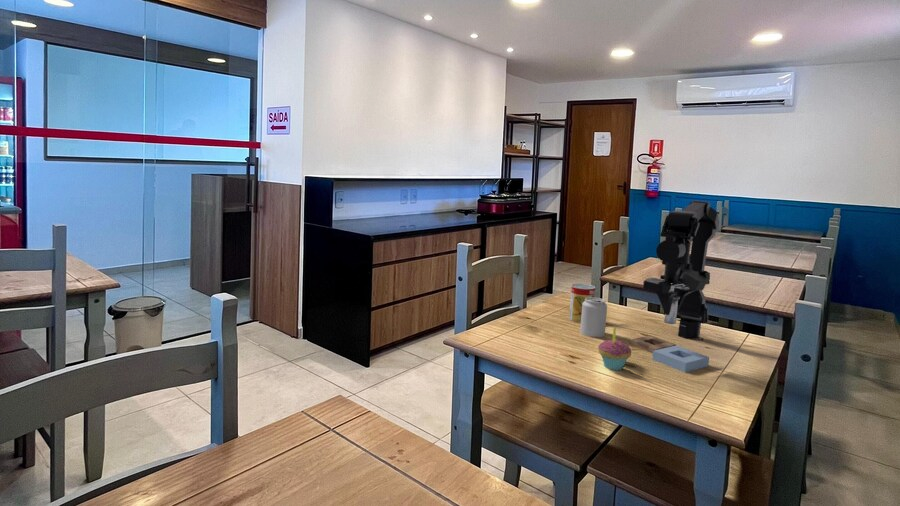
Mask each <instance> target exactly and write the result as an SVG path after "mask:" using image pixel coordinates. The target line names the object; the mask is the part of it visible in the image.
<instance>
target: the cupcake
mask: <svg viewBox="0 0 900 506" xmlns="http://www.w3.org/2000/svg"><path fill="white" fill-rule="evenodd" d="M616 331H617V329H616V325H615V324H613V328H612V339H608V340H607V339H606V340H604V341H602V342H601V343H600V344H598V347H597V351H598V353H599V355H600V356H601V359H602V362H603V366H604V367H605V368H607V369H609V370H613V371H614V370H615V371H621V370H623V368H624V366H625V364H626V362H627V360H628V359H629V358H630V357H631V356H632V350H631V349H632V348H631V347H630V345H628V344H626V343H625V342H623V341H621V340H618V339H616Z"/></svg>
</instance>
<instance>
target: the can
mask: <svg viewBox="0 0 900 506" xmlns="http://www.w3.org/2000/svg"><path fill="white" fill-rule="evenodd" d="M606 302H607V301H606V300H605V299H603V298H600V297H595V296H594V297H589V298H585V301H584V302H583V303H582V314H581V323H580V327H579V328H580V331H579V333H580V334H581V335H583V336H586V337H591V338H602V337H605V334H606V325H607V314H608V304H607V303H606Z"/></svg>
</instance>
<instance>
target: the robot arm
mask: <svg viewBox="0 0 900 506" xmlns="http://www.w3.org/2000/svg"><path fill="white" fill-rule="evenodd" d="M719 225H720V216H719V213H718V211H716V210H715V209H714V208H713V207H711V204H710V202H708V201H705V200H692V201H690V202H689V205H687V206H686V207H684V208H683V209H682V210H672V211H670V212H669V213H668V215H666V216H665V219H664V222H663V225H662V228H661V231H660V237H663V238H665V240H662V241H661V242H659V244H658V245H657V246H656V252H655V253H656V256H657V258H658V259H659V260H660V261H661V264H662V265H664V274H661V275H660V278H657V277H651V278H650V277H649V278H646V279H645V280H643V284H642V289H644V290H648V291H651V292H655V294H656V295H657V297H658V300H659V302H660V305H661V308H662V310H663V313H664V315H665V314H666V315H669V313H670V309H671V304H672V299H673V297H674V296H675V295H680V299H679V300H678V308H677V316H676V320H678V319H679V324H678V331H677V333H678V334H677V336H678V337H679V338H683V339H685V340H686V339H687V340H688V339H692V340H693V339H694V340H695V339H698V340H701V341H704V339H705V338H704V337H701V336H700V334H701V325H702V324H703V325H704V324H708V323H709V309H708V306H707V304H706V300H707V299H706V297H705V294H704V292H703V290H704V289H705V287H706V286H707V285H709V284H710V283H711V282H710V280H711V273H710V272H709V271H707V270H705V267H706V259H707V253H708V246H709V243H710V241H711V240H712V239H713V238H714V237H715V236H716V232H717V230H719Z"/></svg>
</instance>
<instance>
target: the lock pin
mask: <svg viewBox="0 0 900 506" xmlns="http://www.w3.org/2000/svg"><path fill="white" fill-rule="evenodd" d="M679 299H680V295H675V296H674V297H673V299H672V304H671V309H670V313H669V315H666V314H665V313H664V318H663V323H665V324H667V325H676V324H677V319H676V316H677V308H678V300H679Z"/></svg>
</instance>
